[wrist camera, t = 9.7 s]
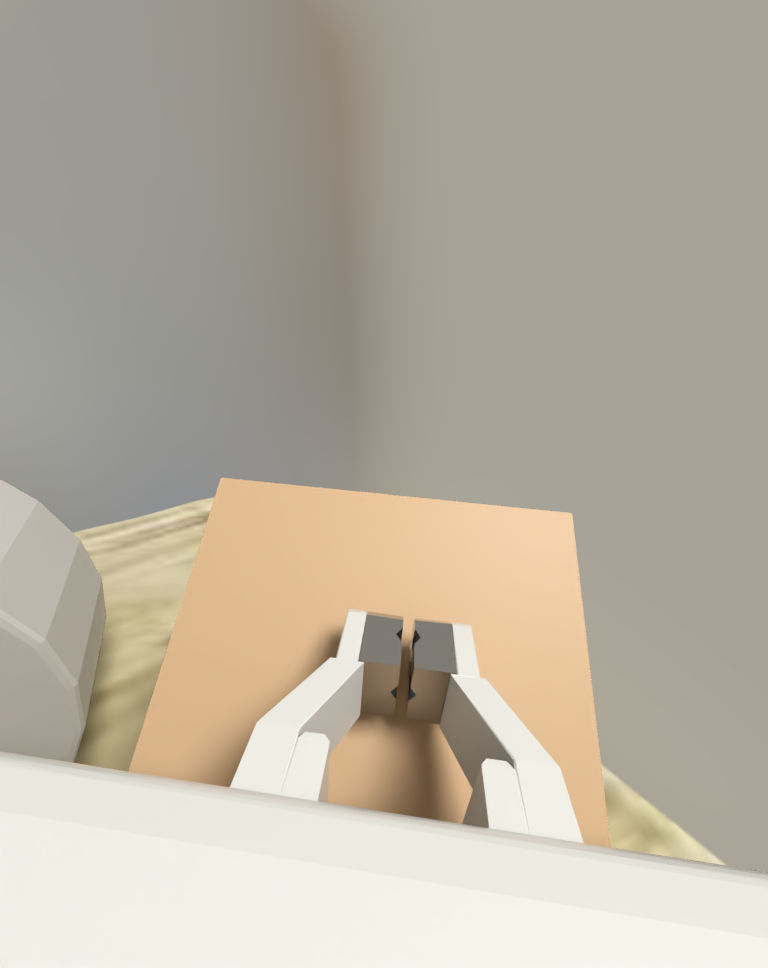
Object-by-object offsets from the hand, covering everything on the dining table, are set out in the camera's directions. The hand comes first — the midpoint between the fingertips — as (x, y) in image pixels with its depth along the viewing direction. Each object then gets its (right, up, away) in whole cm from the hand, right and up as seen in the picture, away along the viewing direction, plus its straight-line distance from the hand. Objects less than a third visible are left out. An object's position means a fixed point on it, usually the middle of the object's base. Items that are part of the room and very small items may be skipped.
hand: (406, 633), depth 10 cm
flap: (-1, -7, -2) cm, 7 cm away
